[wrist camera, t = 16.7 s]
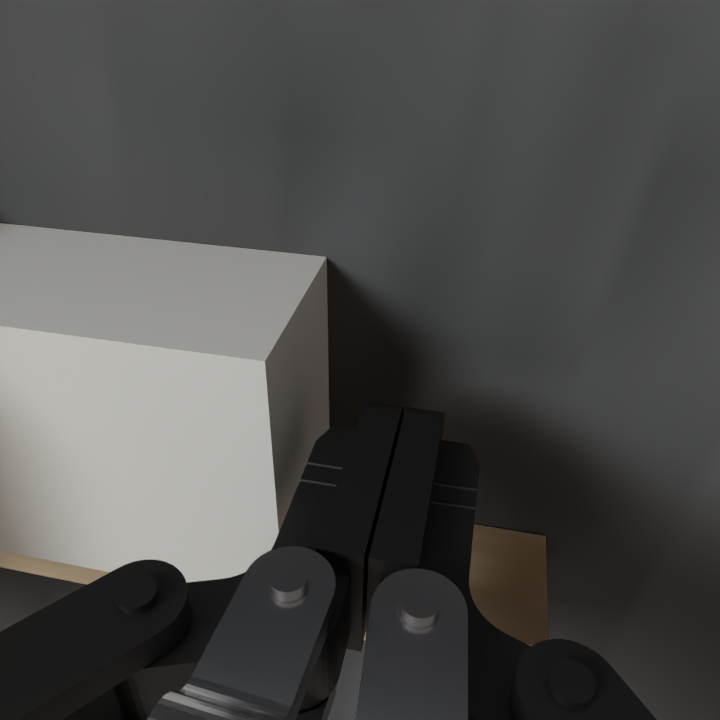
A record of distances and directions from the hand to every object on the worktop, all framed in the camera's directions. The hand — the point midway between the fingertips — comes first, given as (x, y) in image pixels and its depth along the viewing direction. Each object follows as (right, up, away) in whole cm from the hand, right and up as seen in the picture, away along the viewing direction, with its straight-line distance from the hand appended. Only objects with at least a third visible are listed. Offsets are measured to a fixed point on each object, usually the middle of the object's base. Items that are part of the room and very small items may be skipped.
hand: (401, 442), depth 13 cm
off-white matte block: (-5, +2, +3) cm, 6 cm away
